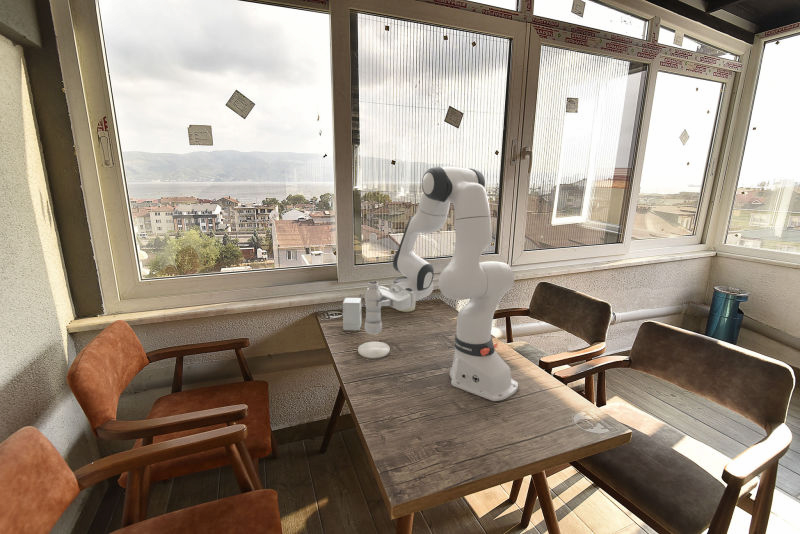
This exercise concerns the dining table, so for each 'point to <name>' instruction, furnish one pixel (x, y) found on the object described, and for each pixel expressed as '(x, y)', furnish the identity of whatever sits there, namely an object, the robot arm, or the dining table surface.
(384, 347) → the coaster
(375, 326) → the plastic bottle
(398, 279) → the reusable coffee cup
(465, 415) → the dining table surface
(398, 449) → the dining table surface
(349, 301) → the supplement box
